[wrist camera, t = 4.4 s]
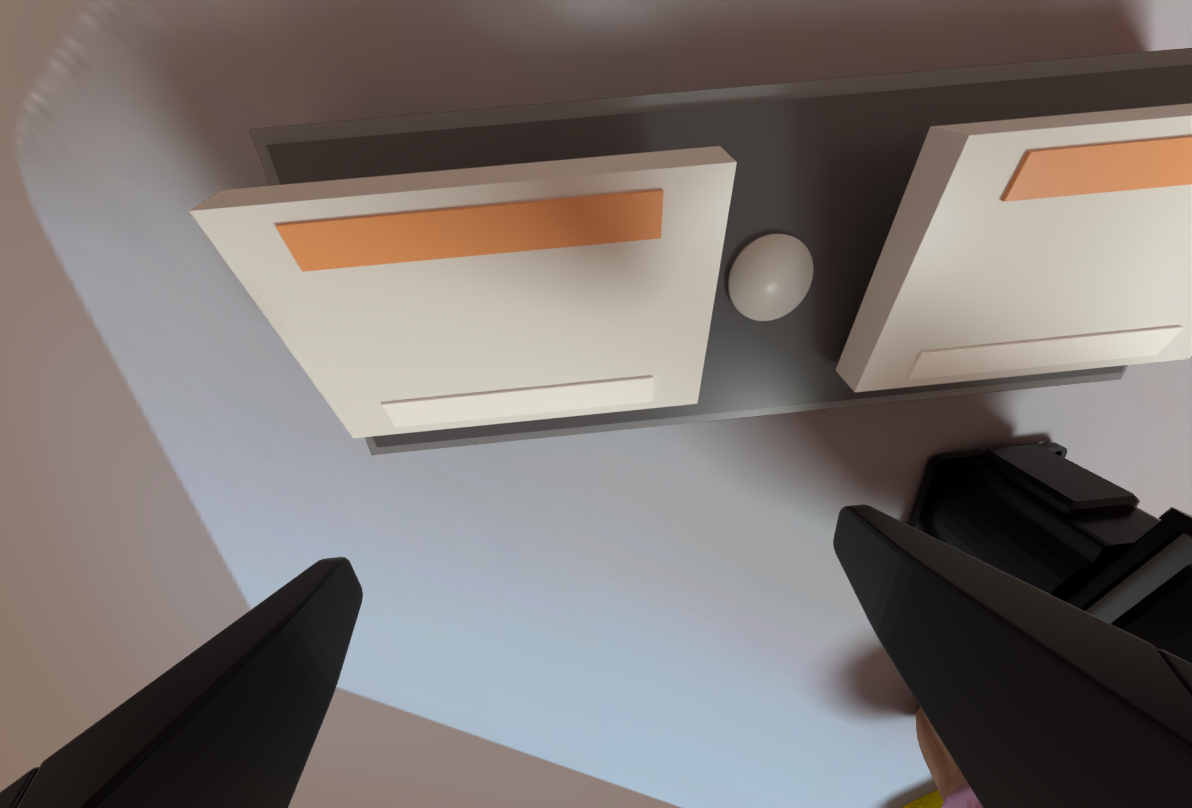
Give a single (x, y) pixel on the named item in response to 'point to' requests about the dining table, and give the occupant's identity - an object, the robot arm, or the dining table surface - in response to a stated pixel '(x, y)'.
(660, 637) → the dining table surface
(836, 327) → the grey switch panel
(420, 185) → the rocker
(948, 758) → the cupcake
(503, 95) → the dining table surface
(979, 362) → the rocker
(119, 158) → the dining table surface
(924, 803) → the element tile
